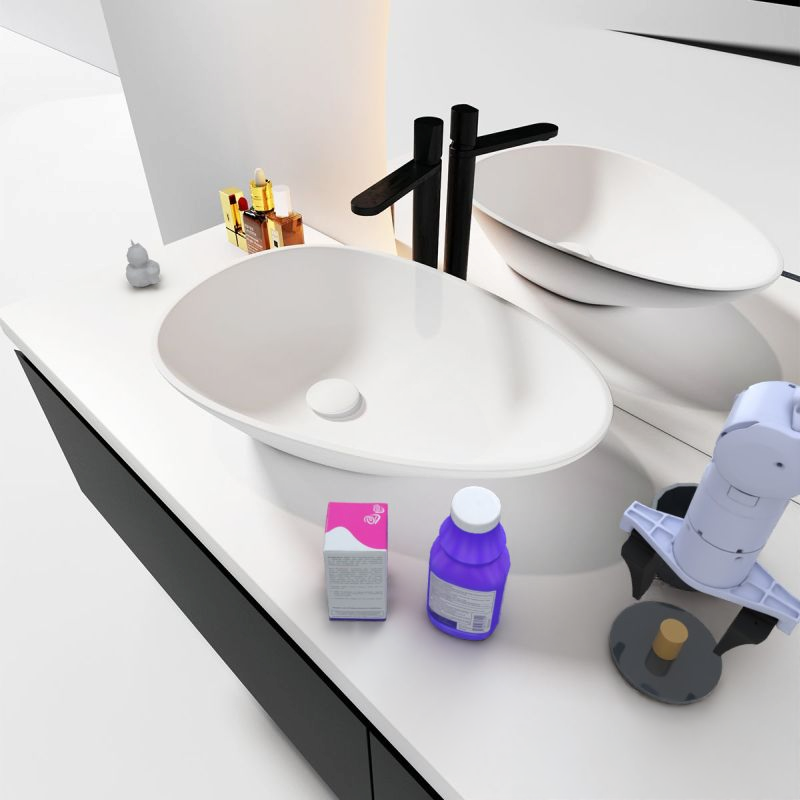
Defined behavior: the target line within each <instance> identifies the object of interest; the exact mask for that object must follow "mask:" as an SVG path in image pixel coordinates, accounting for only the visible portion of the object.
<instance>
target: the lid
mask: <svg viewBox="0 0 800 800" xmlns="http://www.w3.org/2000/svg"><path fill="white" fill-rule="evenodd" d="M608 640H609V648H610V653H611V657H612V659H613V661H614V663H615V665H616V668H617V669H618V671H619V672H620V673H621V675H622V676H623V677H624V679H626V680H627V682H629V683H630V684H631V685H632V686H633V687H634V688H635V689H636V690H637V691H640V692H641V693H642V694H644V695H646V696H648V697H649V698H652V699H654V700H657V701H660V702H664V703H667V704H674V705H686V704H692V703H696V702H698V701H701V700H703V699H704V698H706V697H708V696H709V695H710V694H711V693H712V692H713V691H714V689H715V688H716V687H717V685H718V683H719V682H720V679H721V676H722V672H723V659H722V656H718V655H716V654H715V653H713V650H714V648H715V647H716V645H717V644H718V642H717V640H716V638H715V637H714V635H713V634H712V632H711V631H710V630H709V629H708V627H707V626H706V625H705V624H704V623H703V622H702V621H701V620H700V619H699V618H697V616H694V615H693V614H692V613H690V612H689V611H687V610H685V609H683V608H681V607H680V606H677V605H674V604H672V603H669V602H664V601H657V600H647V601H641V602H636V603H633V604H631V605H629V606H627V607H625V608H624V609H623V610H622V611H620V612H619V614H618V615H617V616H616V617H615V619H614V621H613V622H612V625H611V628H610V631H609V639H608Z"/></svg>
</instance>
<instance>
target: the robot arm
mask: <svg viewBox="0 0 800 800" xmlns="http://www.w3.org/2000/svg"><path fill="white" fill-rule="evenodd" d="M698 484H699V485H698V487H697V490H696V492H695V494H694V497H693V499H692V501H691V504H690V506H689V509H688V511H687V513H686V516H685V518H684V519H682V518H679V517H676V516H673V515H669V514H666V513H663V512H660V511H657V510H654V509H651V508H650V507H649V506H647V505H644V504H643V503H641V502H639V501H637V500H634V501H633V502H632V503H631V504H630V506H629V507H628V508H627V509H626V510H625V511H624V512H623V513H622V517H621V519H620V522H619V525H618V528H619V529H621V530H622V531H624V532H625V533H628V534H629V536H628V538H627V539H626V540H625V541H624V542H623V544H622V546H621V549H620V556H621V557H622V559H623V560H624V562H625V564H626V566H627V568H628V571H629V575H630V580H631V597H632V598H633V599H635V600H636V601H640V600H641V599H642V597H643V596H644V595H645V593H647V591H648V590H649V589H650V587H651V585H652V584H653V581H654V580H655V577H656V575H655V574H656V571H657V568H658V565H659V562H660V560H661V558H662V559H663V560H664V561H665V562H666V563H667V564H668V565H669V566H670V567H671V568H672V570H673V571H674V572H675V573H676V574H677V575H678V576H679V577H680V578H681V579H682V580H683V581H684V582H685V583H687V584H688V585H689V586H691V587H693V588H695V589H696V590H699V591H701V593H704V594H707V595H710V596H713V597H715V598H719V599H722V600H724V601H727V602H730V603H733V604H736V605H740V606H742V607H741V608H740V610H739V612H738V613H737V614H736V616H735V617H734V619H733V620H732V622H730V623H731V624H730V625H729V627H728V628H727V629H726V631H725V632H724V633H723V635H722V637H721V638H720V639H719V641H718V642H717V645H716V647H715V648H714V650H713V653H715V654H716V655H718V656H721V657H723V655H724V654H726V652H728V651H730V650H732V649H734V648H737V647H740V646H745V645H754V646H758V645H761V643H764V642H765V641H767V639H768V637H769V636H770V634H771V633H772V631H773V630H774V628H775V627H776V629H778V630H779V631H781V632H782V633H784V634H785V635H787V636H790V635H791V634H792V632H794V630H795V628H796V627H797V626H798V624H799V623H800V599H799V598H798V597H796V596H795V595H794V594H793V593H791V592H790V591H789V590H788V589H787V588H786V587H785V586H784V585H783V584H782V583H781V582H780V581H779V580H778V579H777V578H776V577H775V576H774V575H773V574H772V573H771V572H769V570H768V569H766V567H764V566H763V565H762V564H761V563H760V561H758V558H759V556H760V555H761V553H762V551H763V549H764V547H765V546H766V544H767V543H768V541H769V539H770V537H771V535H772V533H773V532H774V530H775V528H776V527H777V525H778V523H779V521H780V520H781V518H782V517H783V514H784V513H785V511H786V509H787V508H788V506H789V505H790V502H791V499H793V498H795V497H798V496H800V385H799V384H795V383H792V382H788V381H782V380H768V381H761V382H758V383H754V384H752V385H750V386H748V389H743V390H742V391H741V392H740V393H737V394H736V395H735V396H734V399H733V404H732V408H731V409H730V412H729V413H728V415H727V418H726V420H725V422H724V424H723V426H722V428H721V430H720V432H719V433H718V436H717V438H716V441H715V446H714V448H713V453H712V456H711V460H710V461H709V462H708V463H707V465H706V466H705V468H704V471H703V474H702V476H701V478H700V481H699V483H698Z"/></svg>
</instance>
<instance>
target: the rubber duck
mask: <svg viewBox="0 0 800 800" xmlns="http://www.w3.org/2000/svg"><path fill="white" fill-rule="evenodd" d="M130 245H131V246H129V247H128V249H127V251H126V252H127V253H126V255H125V256H126V260H127V262H128V264H127V265H126V267H125V270H126V271H125V277H126V280H127V282H128V283H130V285H132V286H134V287H138V288H144V287H148V286H150V285H156V284H158V283H160V275H161V267H160V264H159V262H157V261H155V260H153V259H149V254H148V250H147V249H146V248H145V247H144V246H143V245H141V243H139V242H136V243H135V242H134V241H133V240H132V239H130Z"/></svg>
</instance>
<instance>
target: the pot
mask: <svg viewBox="0 0 800 800" xmlns="http://www.w3.org/2000/svg"><path fill="white" fill-rule="evenodd" d="M698 485H699V483H696V482H676V483H673V484H670V485H667V486H665V487H662V488H661V489H660V490H659V491H658V493H656V494H655V496H654V497H653V498H652V501H651V504H650V507H649V508H651V509H654V510H657V511H660V512H663V513H666V514H669V515H673V516H676V517H679V518H682V519H684V518H685V516H686V513H687V511H688V509H689V506H690V504H691V501H692V499H693V497H694V494H695V492H696V490H697V487H698ZM655 577H657V578H659V579H660V580H661V581H663V582H664V583H667V584H668V585H670V586H671V587H674V588H677V589H680V590H683V591H688V592H696V593H697V592H698V593H700V592H701V591H699V590H696V589H695V588H693V587H691V586H689V585H688V584H687V583H685V582H684V581H683V580H682V579H681V578H680V577H679V576H678V575H677V574H676V573H675V572H674V571H673V570H672V568H671V567H670V566H669V565H668V564H667V563H666V562H665V561H664V560H663V559H662V558H661V560H660V562H659V565H658V568H657V571H656V574H655ZM701 593H702V592H701Z"/></svg>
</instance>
